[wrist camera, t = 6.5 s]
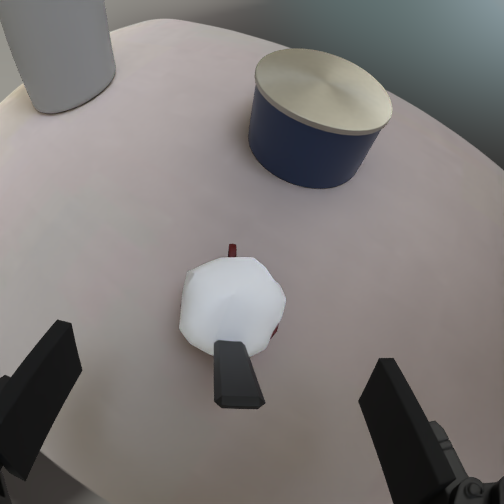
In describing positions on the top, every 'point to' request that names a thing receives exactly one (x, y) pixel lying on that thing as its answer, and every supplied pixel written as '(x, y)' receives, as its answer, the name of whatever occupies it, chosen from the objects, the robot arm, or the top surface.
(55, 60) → the cylinder vase
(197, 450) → the top surface
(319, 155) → the beige and blue cylinder
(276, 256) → the top surface
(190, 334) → the cocoa
